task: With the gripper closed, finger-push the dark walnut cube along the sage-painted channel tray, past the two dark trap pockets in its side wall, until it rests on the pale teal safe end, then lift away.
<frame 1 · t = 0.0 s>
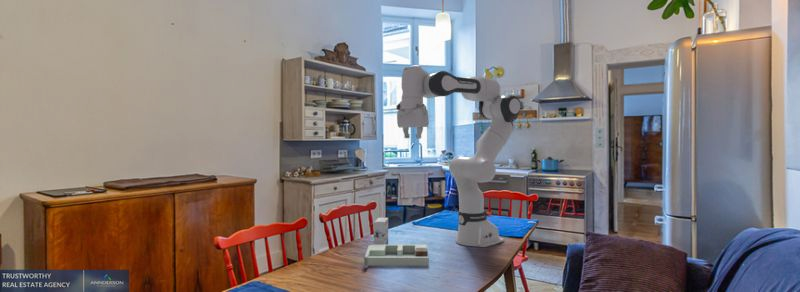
hand: (412, 138, 161), 48 cm above the table, fingers open, 8 cm apart
block: (421, 261, 149), point 1 cm above the table, touching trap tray
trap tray: (397, 263, 149), on the table
ink box: (381, 246, 173), on the table
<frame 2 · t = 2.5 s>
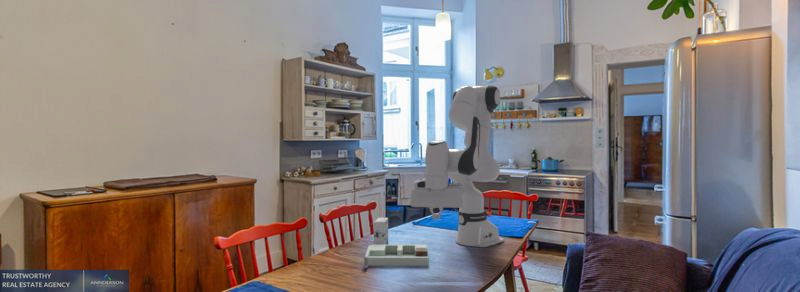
hand: (436, 218, 149), 17 cm above the table, fingers closed
nothing on the table moved.
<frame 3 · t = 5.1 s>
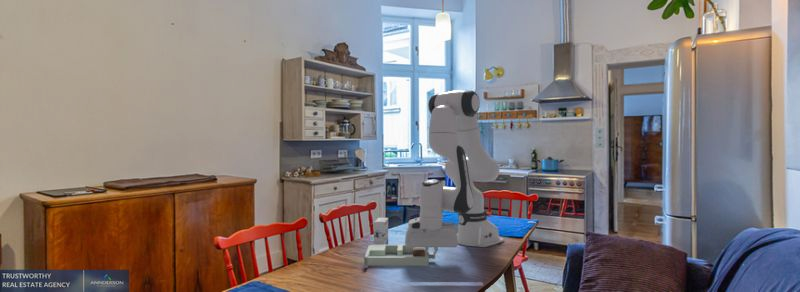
hand: (431, 258, 148), 2 cm above the table, fingers closed
block: (419, 261, 149), point 1 cm above the table, touching gripper, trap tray
everything else where it was.
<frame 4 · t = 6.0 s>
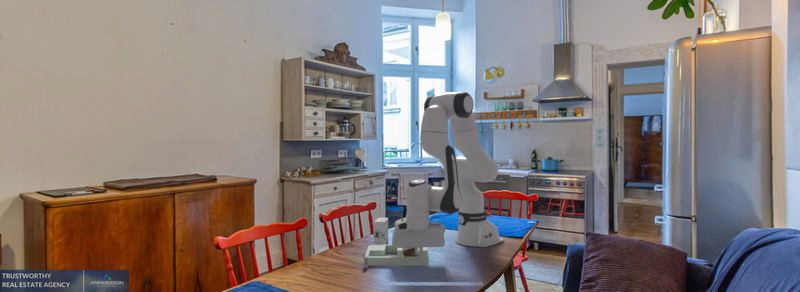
hand: (418, 258, 148), 2 cm above the table, fingers closed, pressing on block
block: (410, 260, 148), point 1 cm above the table, tilted 10°, touching gripper, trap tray
everything else where it was.
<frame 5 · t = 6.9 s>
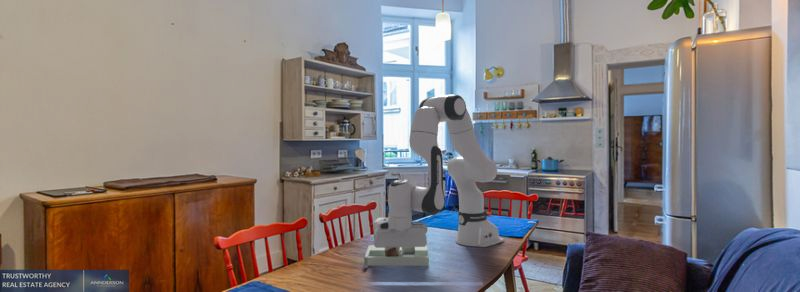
hand: (400, 258, 148), 2 cm above the table, fingers closed, pressing on block
block: (393, 259, 149), point 2 cm above the table, tilted 16°, touching gripper, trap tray
everything else where it was.
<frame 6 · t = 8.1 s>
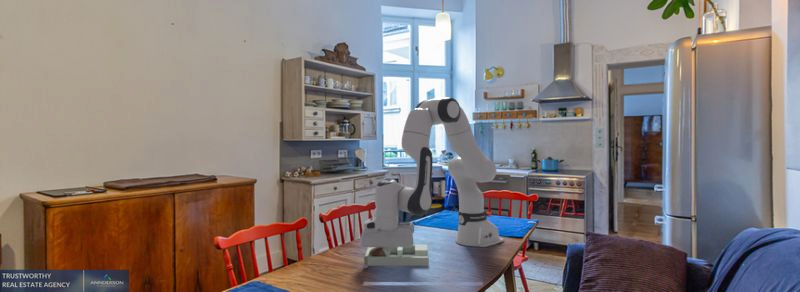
hand: (387, 258, 148), 2 cm above the table, fingers closed, pressing on block
block: (380, 259, 149), point 2 cm above the table, tilted 17°, touching gripper, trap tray
everything else where it was.
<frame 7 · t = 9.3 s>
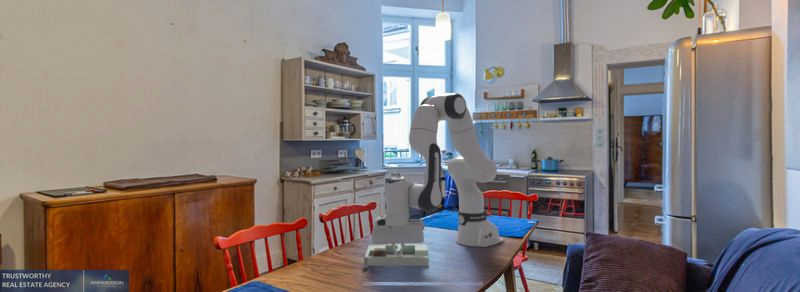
hand: (398, 254, 149), 3 cm above the table, fingers closed
block: (380, 261, 149), point 1 cm above the table, touching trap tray
everything else where it was.
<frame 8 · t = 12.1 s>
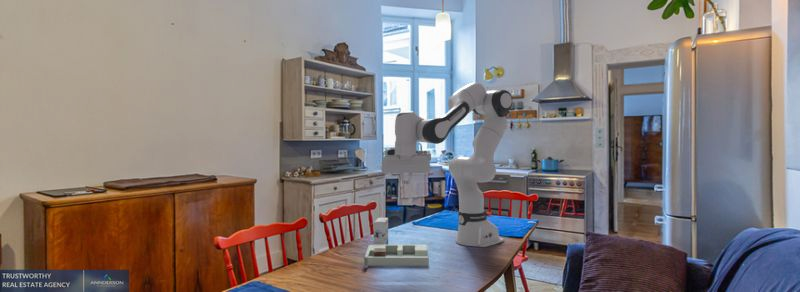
hand: (406, 184, 160), 29 cm above the table, fingers closed
nothing on the table moved.
at the end: block 1.8 cm from the target spot on the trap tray, point 1.0 cm above the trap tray's base; block tilted 0° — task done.
